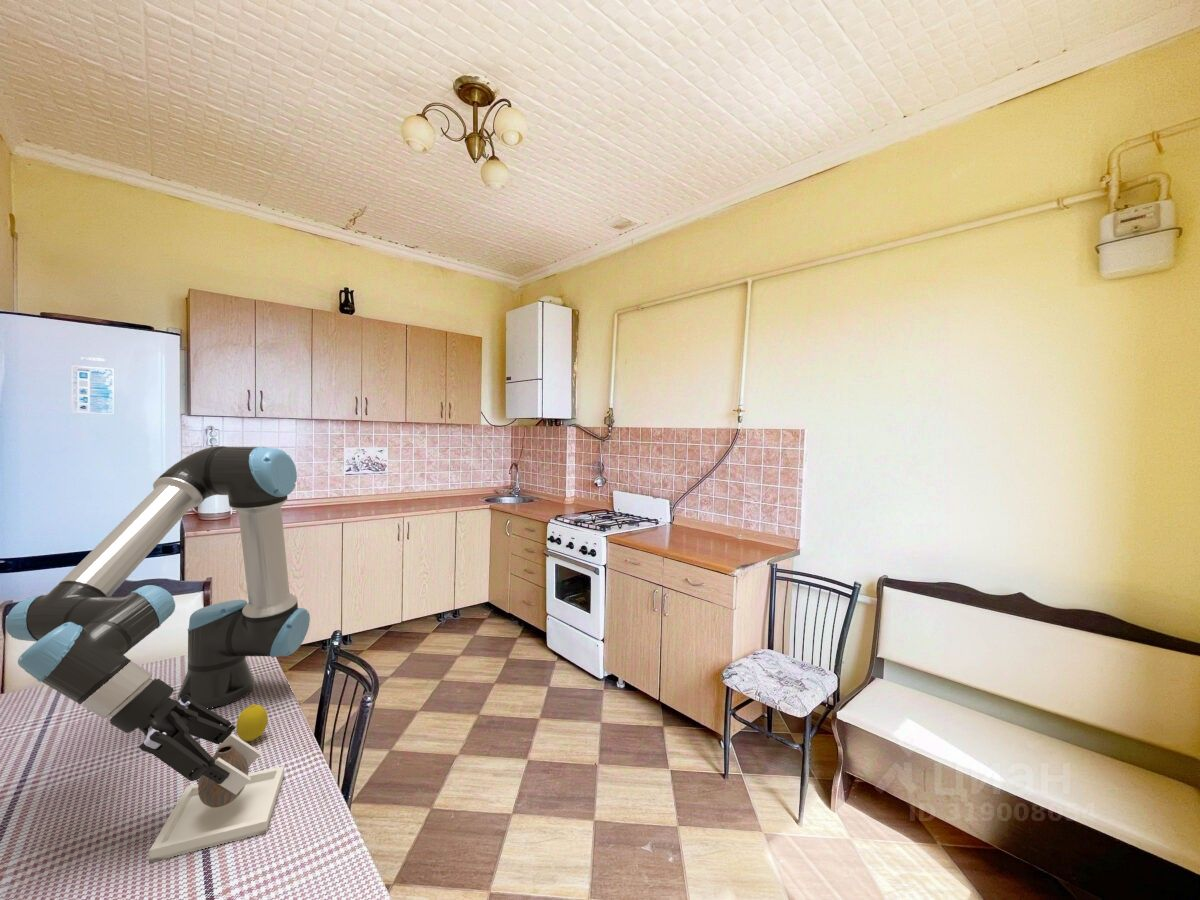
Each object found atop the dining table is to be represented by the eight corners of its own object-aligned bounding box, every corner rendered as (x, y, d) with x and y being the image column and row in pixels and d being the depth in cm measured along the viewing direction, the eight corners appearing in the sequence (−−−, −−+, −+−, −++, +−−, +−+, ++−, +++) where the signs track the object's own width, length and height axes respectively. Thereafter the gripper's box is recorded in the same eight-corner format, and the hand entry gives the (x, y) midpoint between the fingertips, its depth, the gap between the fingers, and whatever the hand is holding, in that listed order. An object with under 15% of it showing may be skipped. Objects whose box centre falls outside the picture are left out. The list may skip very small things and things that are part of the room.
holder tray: (186, 797, 87) (186, 786, 87) (283, 776, 93) (284, 765, 93) (149, 863, 73) (149, 850, 73) (266, 833, 79) (266, 821, 79)
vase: (206, 820, 78) (208, 766, 78) (190, 803, 82) (192, 751, 82) (255, 795, 84) (256, 745, 84) (237, 780, 87) (239, 732, 87)
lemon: (250, 750, 100) (251, 713, 100) (229, 747, 101) (230, 709, 101) (273, 735, 106) (274, 699, 106) (252, 732, 107) (253, 696, 107)
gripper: (138, 689, 85) (245, 758, 92) (72, 753, 68) (211, 833, 74) (176, 655, 88) (278, 725, 94) (123, 708, 70) (253, 789, 76)
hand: (249, 772), depth 84 cm, fingers closed on vase, 7 cm apart
